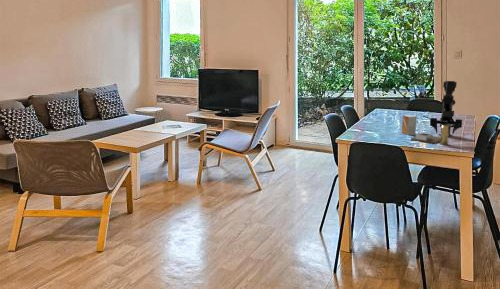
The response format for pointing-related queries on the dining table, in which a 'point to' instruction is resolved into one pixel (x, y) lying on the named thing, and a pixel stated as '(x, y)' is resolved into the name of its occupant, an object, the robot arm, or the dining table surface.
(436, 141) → the cabinet panel
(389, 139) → the dining table surface
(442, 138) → the hinge pin
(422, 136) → the hinge clip
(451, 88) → the robot arm
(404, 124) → the small box
